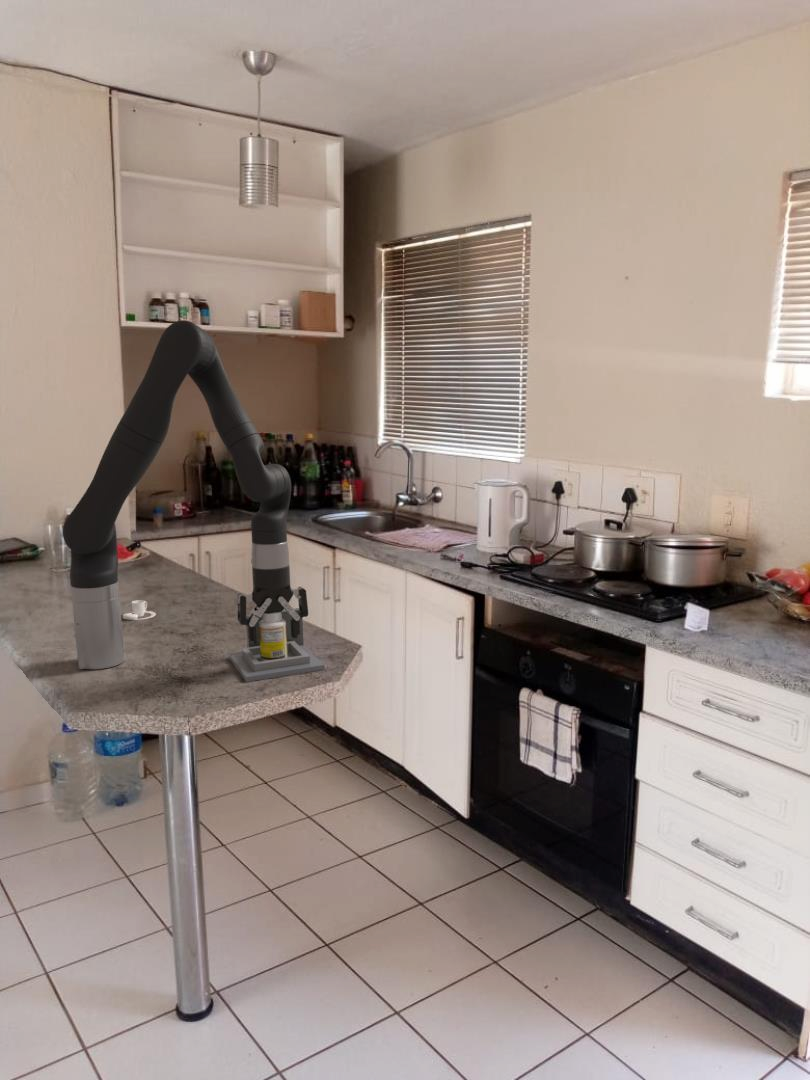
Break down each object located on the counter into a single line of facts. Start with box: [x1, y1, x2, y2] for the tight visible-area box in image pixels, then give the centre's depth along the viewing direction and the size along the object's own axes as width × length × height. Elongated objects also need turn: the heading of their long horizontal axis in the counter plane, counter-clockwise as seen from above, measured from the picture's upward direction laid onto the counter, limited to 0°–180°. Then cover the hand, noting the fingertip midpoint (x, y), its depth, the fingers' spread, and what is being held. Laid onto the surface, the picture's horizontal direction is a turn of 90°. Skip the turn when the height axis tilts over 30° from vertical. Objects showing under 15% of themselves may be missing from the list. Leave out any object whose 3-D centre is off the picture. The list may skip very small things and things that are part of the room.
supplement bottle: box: [259, 612, 288, 661], centre depth 173 cm, size 6×6×10 cm
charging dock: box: [228, 607, 325, 683], centre depth 174 cm, size 16×16×9 cm
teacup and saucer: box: [121, 599, 157, 621], centre depth 212 cm, size 9×8×4 cm
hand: (274, 640), depth 174 cm, fingers open, 8 cm apart
